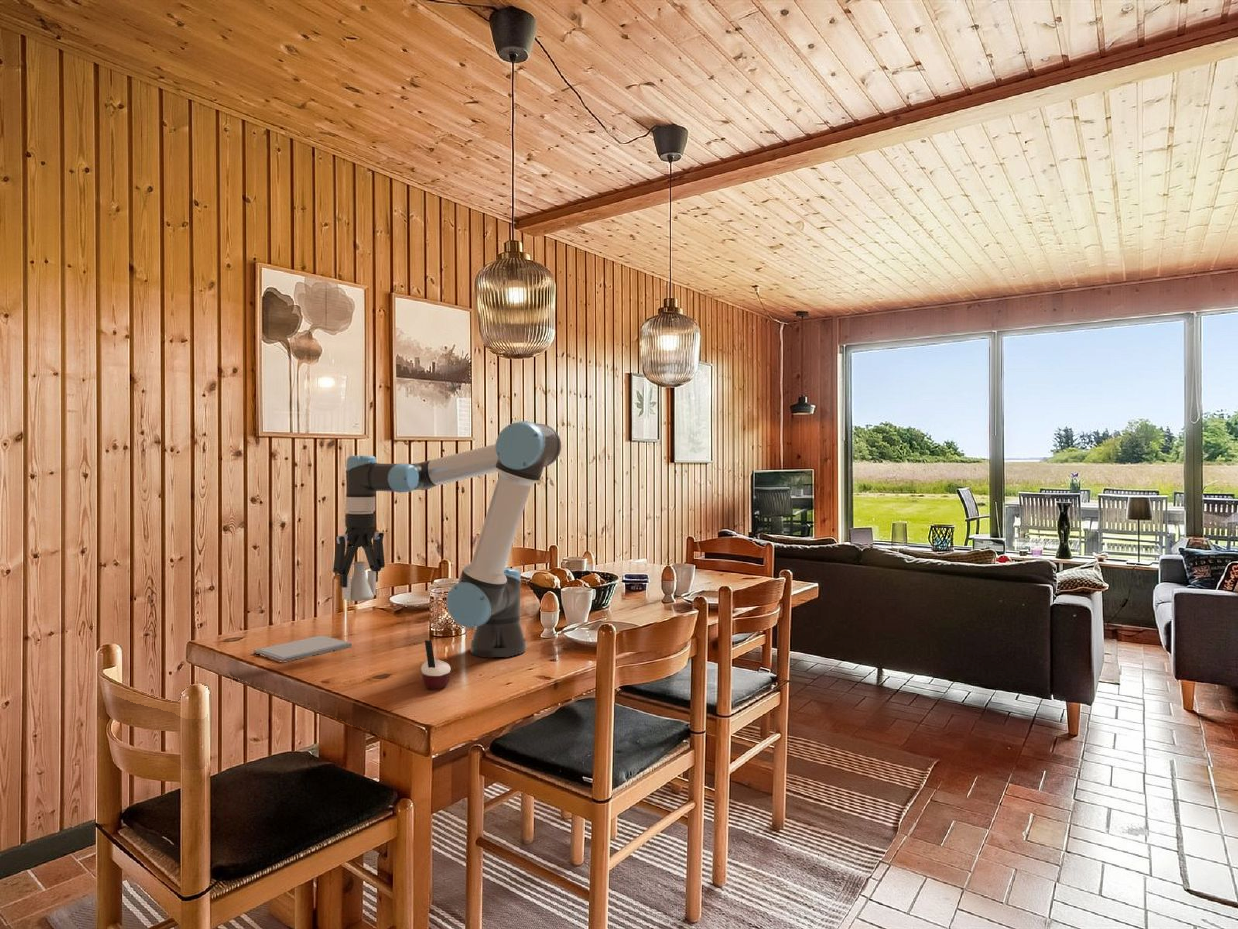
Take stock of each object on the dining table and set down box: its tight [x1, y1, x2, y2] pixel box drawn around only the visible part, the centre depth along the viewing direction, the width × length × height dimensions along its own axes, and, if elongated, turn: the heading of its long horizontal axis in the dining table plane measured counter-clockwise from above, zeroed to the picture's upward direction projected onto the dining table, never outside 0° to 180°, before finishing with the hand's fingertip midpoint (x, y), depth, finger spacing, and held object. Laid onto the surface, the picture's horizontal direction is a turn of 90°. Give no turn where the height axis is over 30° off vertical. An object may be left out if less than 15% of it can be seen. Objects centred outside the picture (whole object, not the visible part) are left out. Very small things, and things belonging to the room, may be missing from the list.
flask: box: [348, 561, 375, 602], centre depth 190 cm, size 7×7×10 cm
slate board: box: [253, 634, 352, 662], centre depth 192 cm, size 14×20×1 cm
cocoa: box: [420, 639, 452, 690], centre depth 163 cm, size 10×6×12 cm, turn 149°
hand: (359, 596), depth 190 cm, fingers closed on flask, 7 cm apart
